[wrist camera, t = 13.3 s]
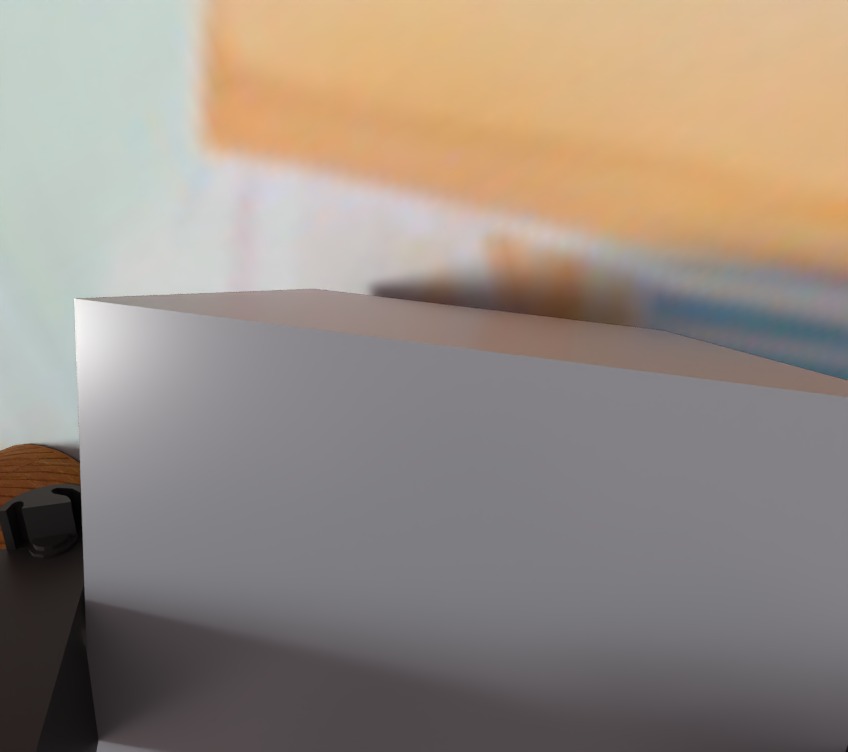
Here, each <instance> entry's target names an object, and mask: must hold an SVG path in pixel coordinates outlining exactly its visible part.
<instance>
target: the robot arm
mask: <svg viewBox="0 0 848 752" xmlns="http://www.w3.org/2000/svg"><path fill="white" fill-rule="evenodd" d="M0 526H1V530H2V533H3V537H4V541H5V545H6V549H0V752H97V746H98V733H97V725H96V718H95V710H94V703H93V695H92V688H91V680H90V673H89V665H88V658H87V645H86V617H85V588H84V560H83V532H82V504H81V486H79V485H74V484H54V485H49V486H45V487H40V488H36V489H33V490H30V491H28V492H25V493H22V494H20V495H18V496H16V497H15V498H13V499H11V500H9V501H8V502H6V503H5V504H4V505H3V506H2V507H1V508H0ZM845 752H848V746H847V749H846V751H845Z"/></svg>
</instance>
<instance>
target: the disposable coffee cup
mask: <svg viewBox="0 0 848 752" xmlns="http://www.w3.org/2000/svg"><path fill="white" fill-rule="evenodd" d="M54 484H74V485H79V486H81V476H80V463H79V462H78V461H76V460H74V459H73V458H71V457H70V456H68V455H66V454H64V453H62V452H60V451H58V450H55V449H51V448H47V447H44V446H40V445H31V444H24V445H15V446H12V447H9V448H7V449H4V450H1V451H0V508H1V507H2V506H3V505H4V504H5V503H6V502H8V501H9V500H11V499H13V498H15V497H16V496H18V495H20V494H22V493H25V492H28V491H30V490H33V489H36V488H40V487H45V486H49V485H54ZM0 549H6V545H5V541H4V537H3V533H2V530H1V526H0Z"/></svg>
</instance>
